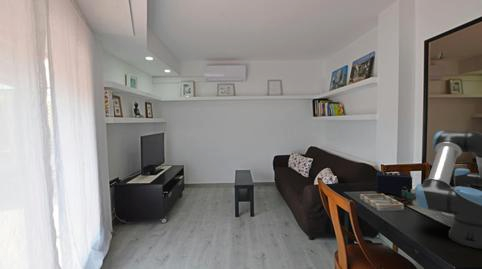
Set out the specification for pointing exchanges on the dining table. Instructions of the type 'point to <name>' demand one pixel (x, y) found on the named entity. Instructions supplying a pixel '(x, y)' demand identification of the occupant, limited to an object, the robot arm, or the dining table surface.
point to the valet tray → (381, 202)
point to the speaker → (393, 182)
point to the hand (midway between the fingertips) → (414, 194)
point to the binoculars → (405, 196)
